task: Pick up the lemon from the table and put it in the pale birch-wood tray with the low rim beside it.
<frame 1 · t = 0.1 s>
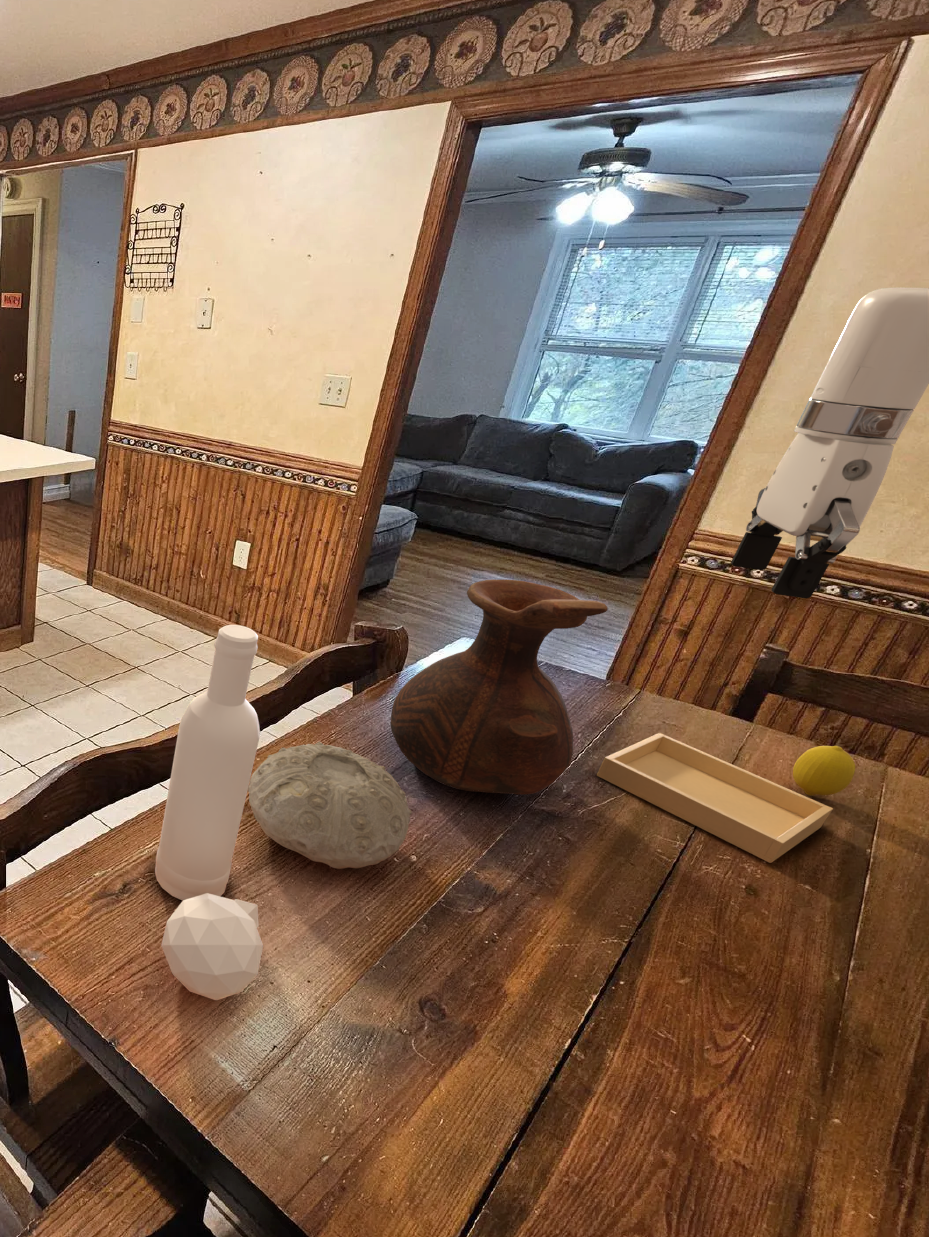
hand: (767, 580, 83), 33 cm above the table, tool pointing down, fingers open, 9 cm apart
tray: (704, 800, 101), on the table
cream faceted rounded solid: (216, 974, 71), on the table
bottle: (189, 879, 82), on the table
jug: (460, 771, 104), on the table
decorative shell: (317, 836, 90), on the table
lemon: (807, 795, 104), on the table
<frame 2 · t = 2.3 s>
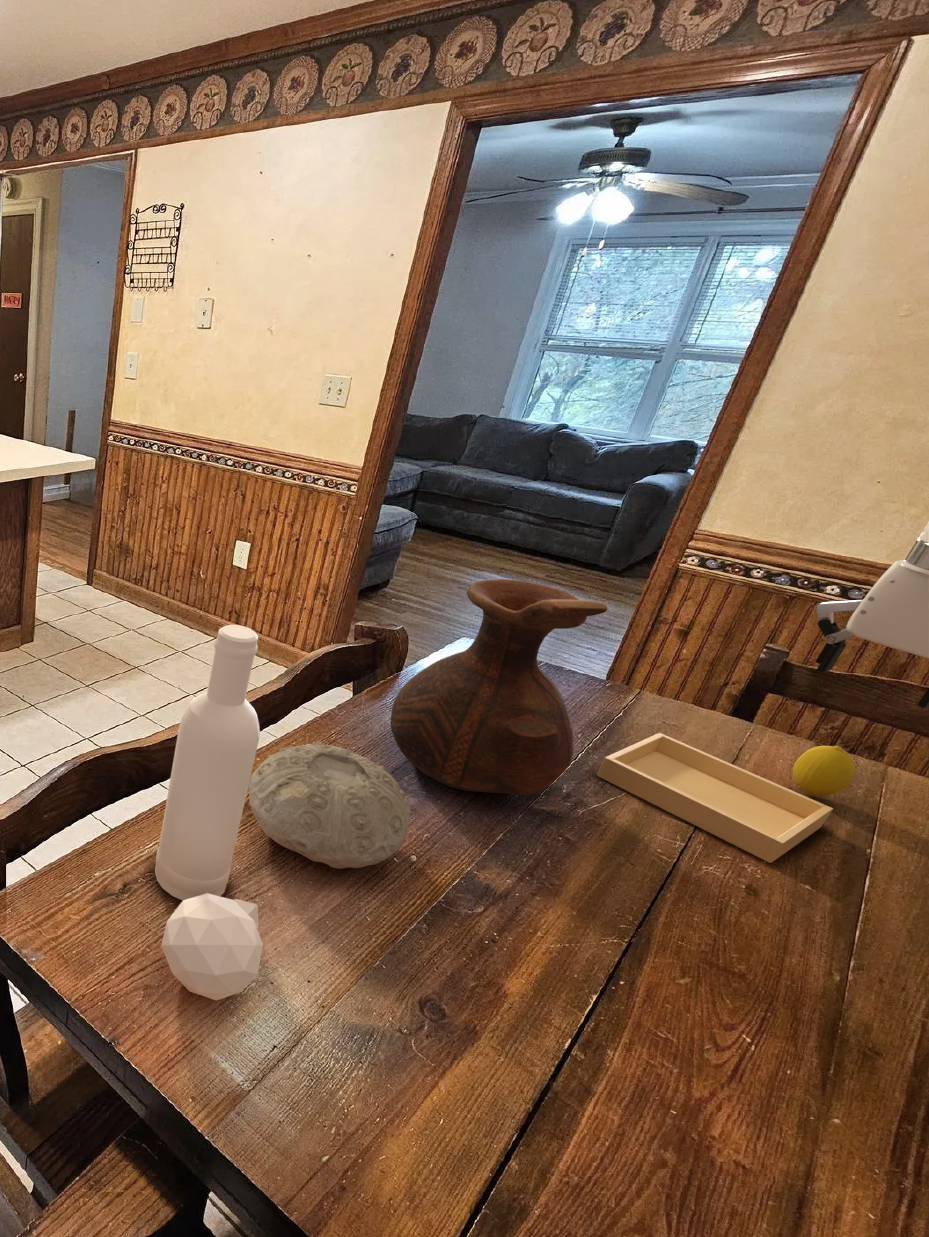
hand: (871, 687, 96), 17 cm above the table, tool pointing down, fingers open, 9 cm apart
nothing on the table moved.
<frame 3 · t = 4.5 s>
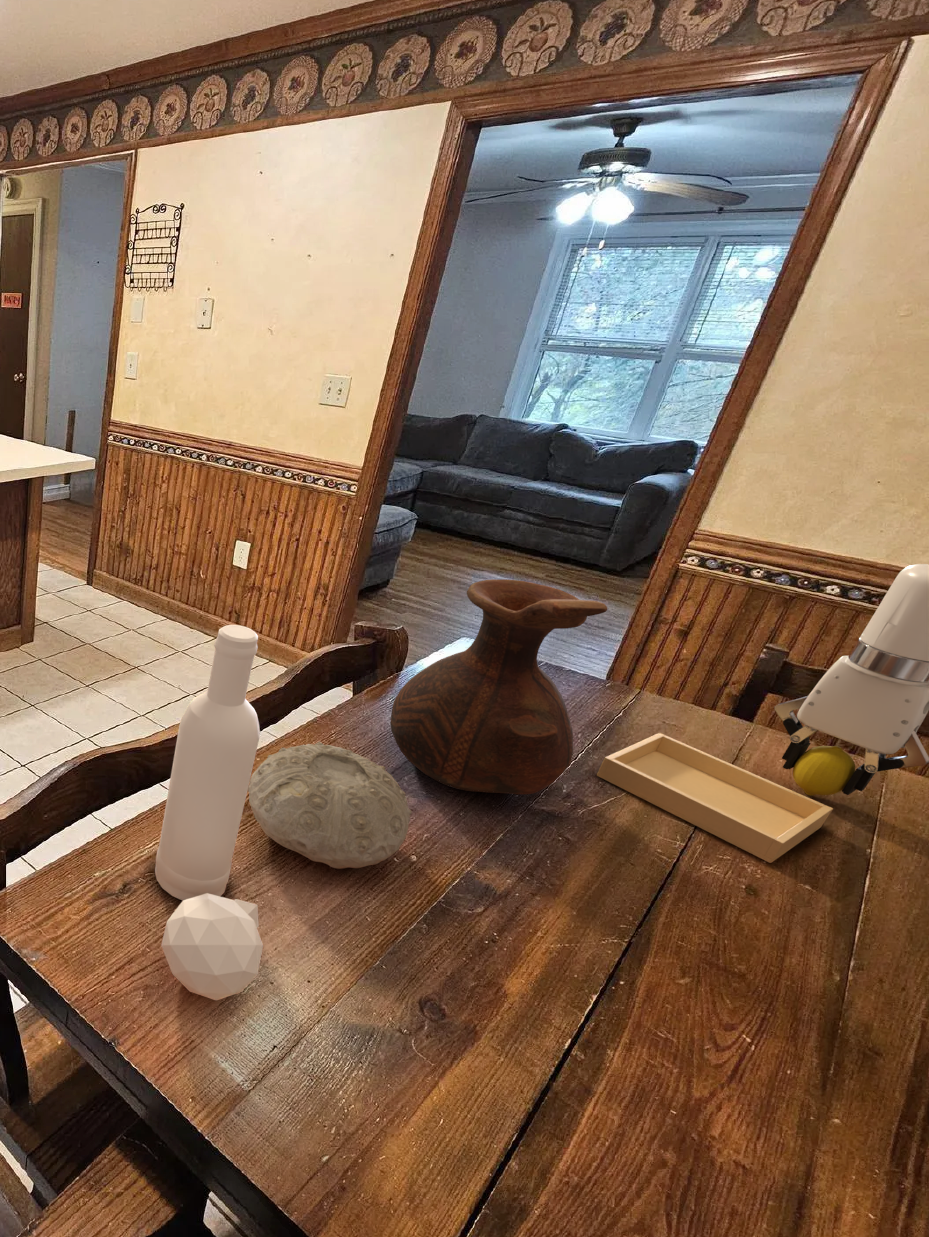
hand: (818, 777, 102), 3 cm above the table, tool pointing down, fingers closed on lemon, 5 cm apart
lemon: (807, 795, 104), on the table, touching gripper
everything else where it was.
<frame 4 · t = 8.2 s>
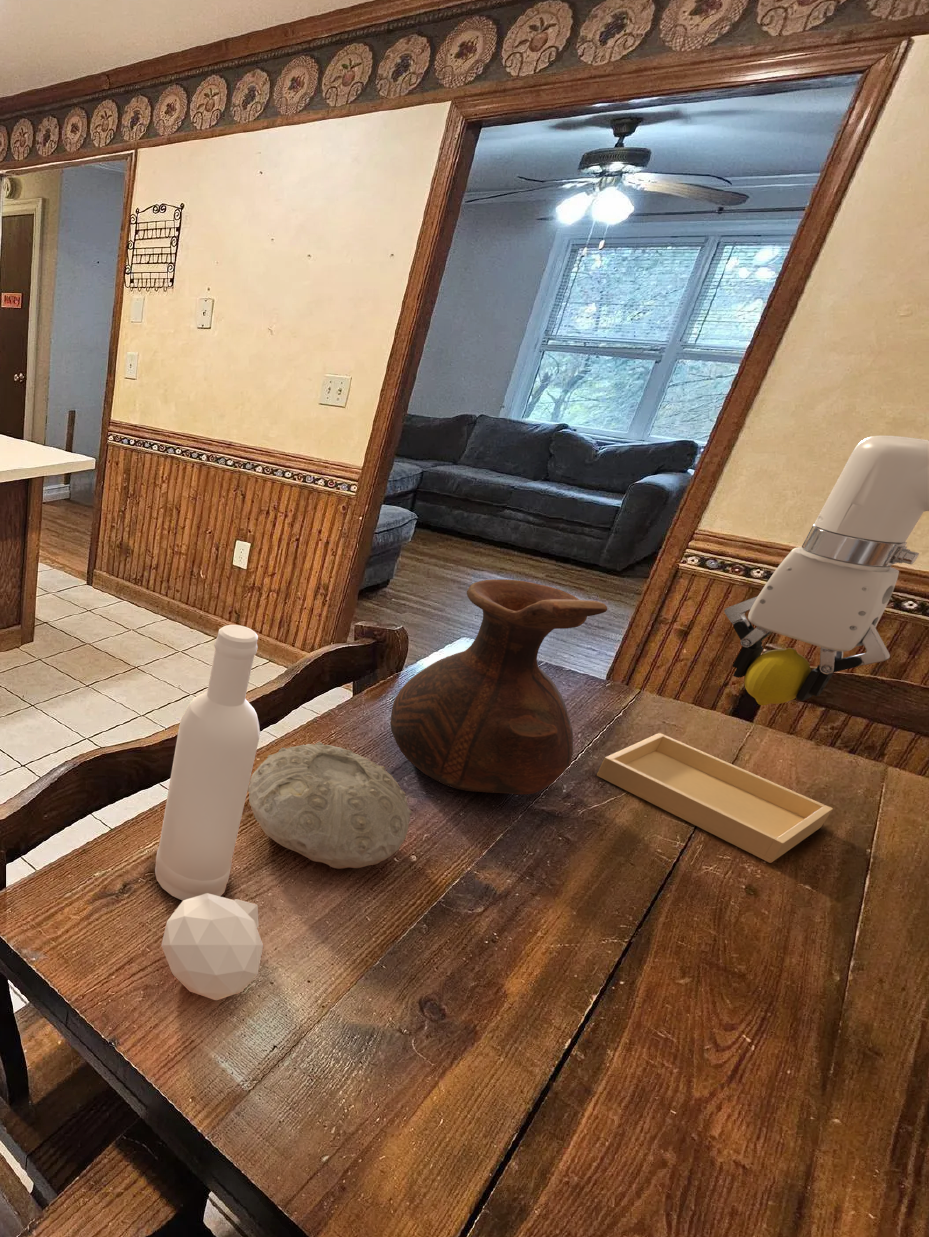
hand: (771, 684, 93), 18 cm above the table, tool pointing down, fingers closed on lemon, 5 cm apart
lemon: (760, 706, 95), point 15 cm above the table, touching gripper
everything else where it was.
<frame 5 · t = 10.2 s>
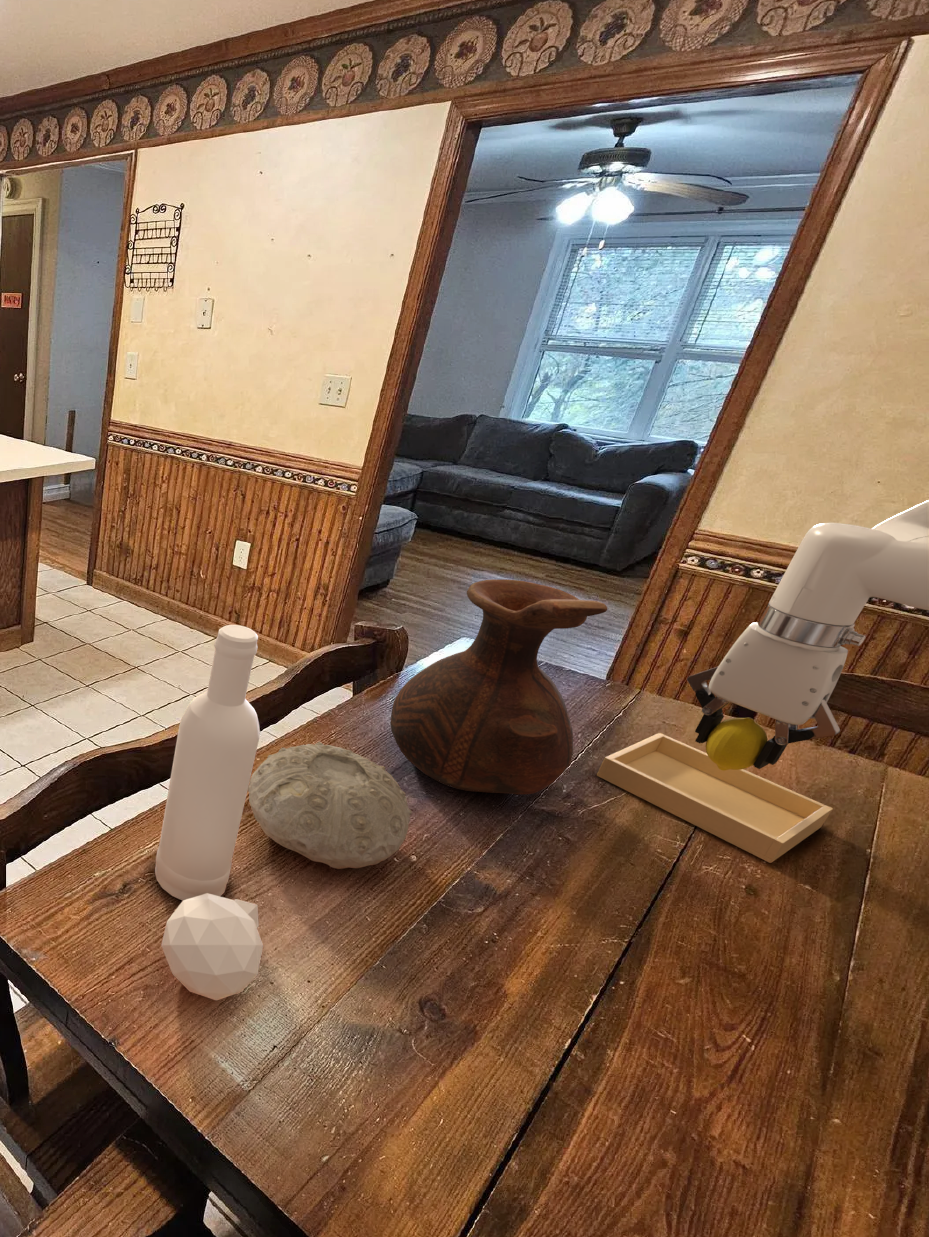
hand: (731, 751, 98), 8 cm above the table, tool pointing down, fingers closed on lemon, 5 cm apart
lemon: (720, 770, 99), point 5 cm above the table, touching gripper
everything else where it was.
when the fingers open (4 cm above the table, at t = 11.9 s): lemon stays where it is, resting on tray.
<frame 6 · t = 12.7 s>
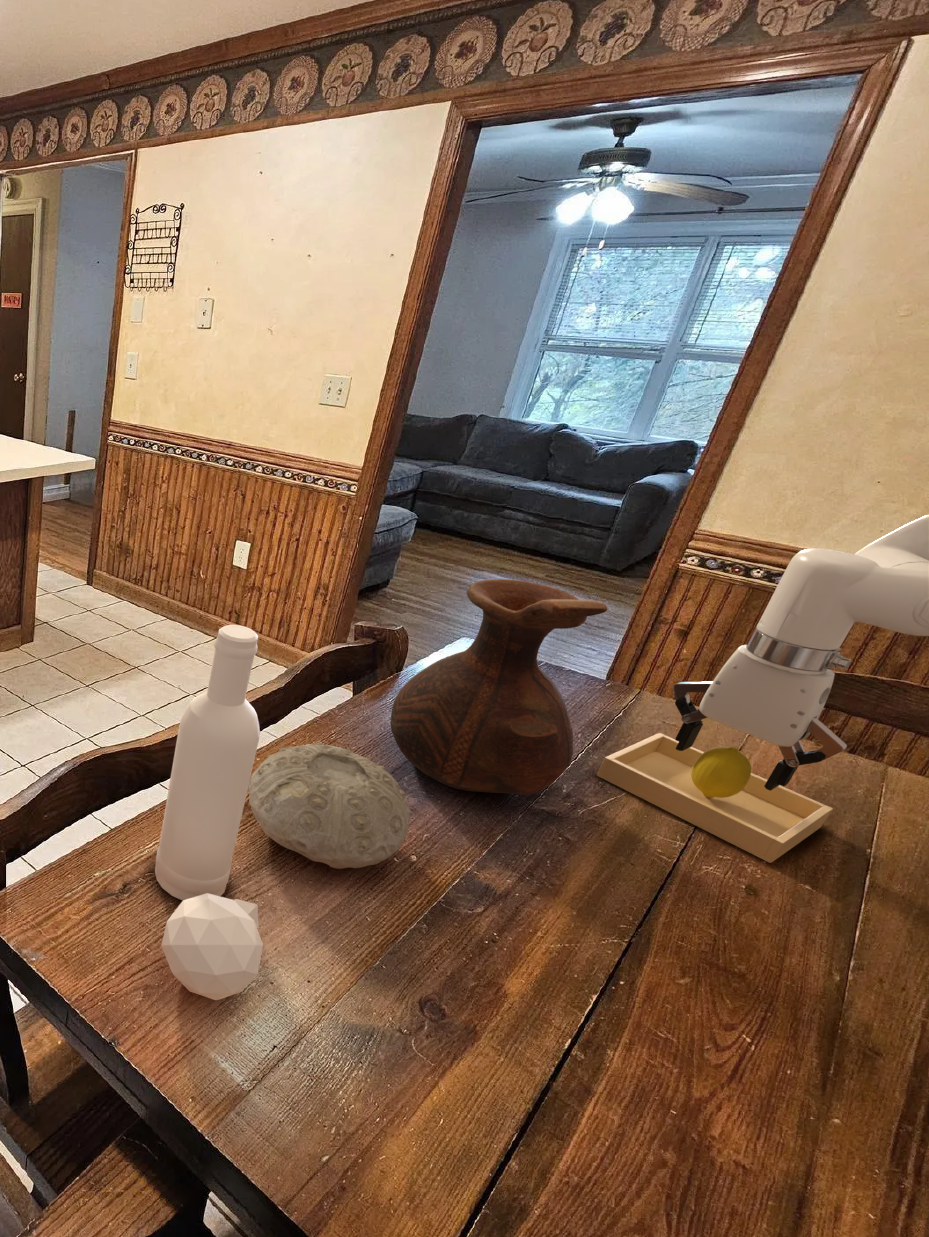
hand: (725, 766, 99), 6 cm above the table, tool pointing down, fingers open, 9 cm apart
lemon: (706, 798, 101), resting on tray
everything else where it was.
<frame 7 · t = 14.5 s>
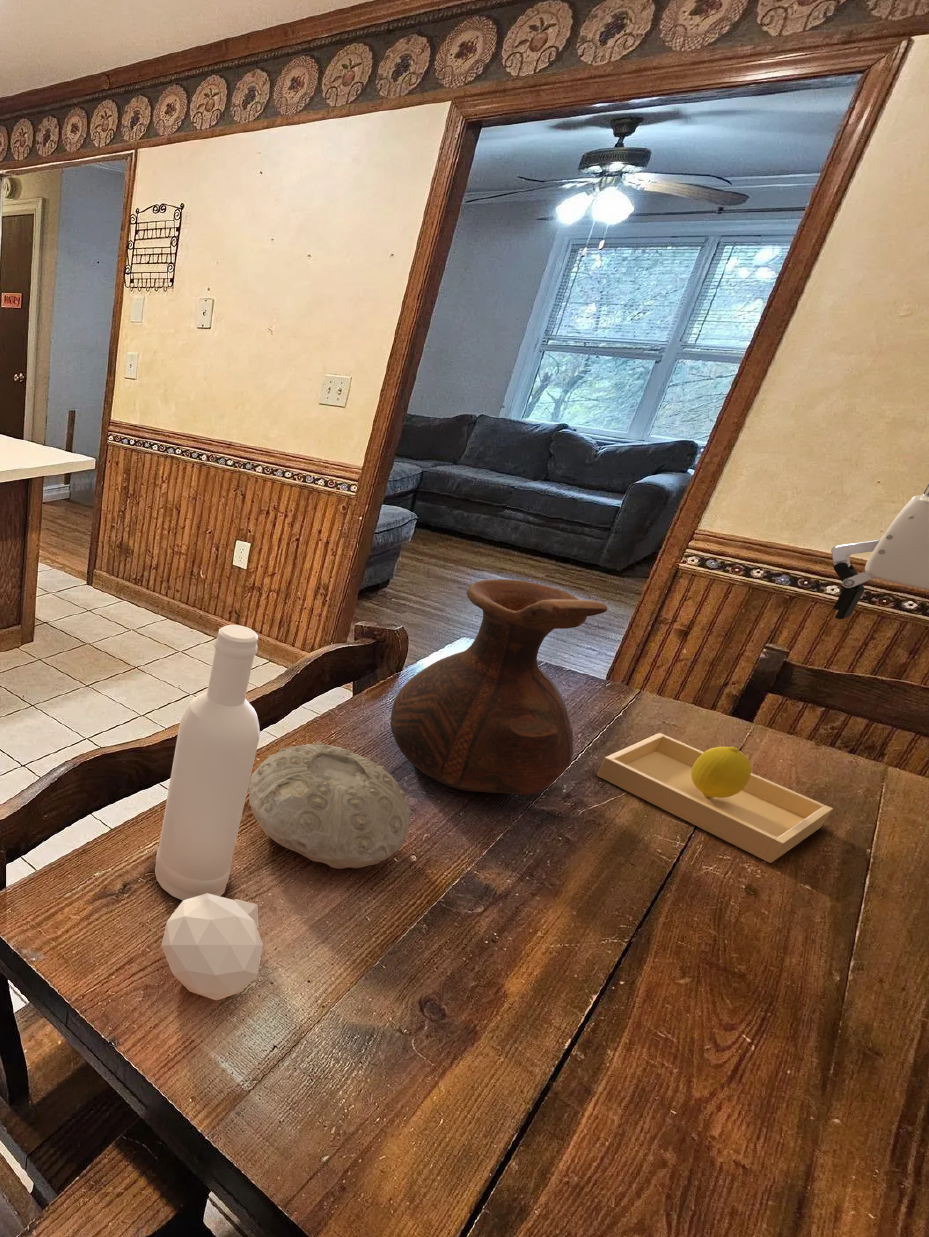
hand: (895, 631, 91), 25 cm above the table, tool pointing down, fingers open, 9 cm apart
nothing on the table moved.
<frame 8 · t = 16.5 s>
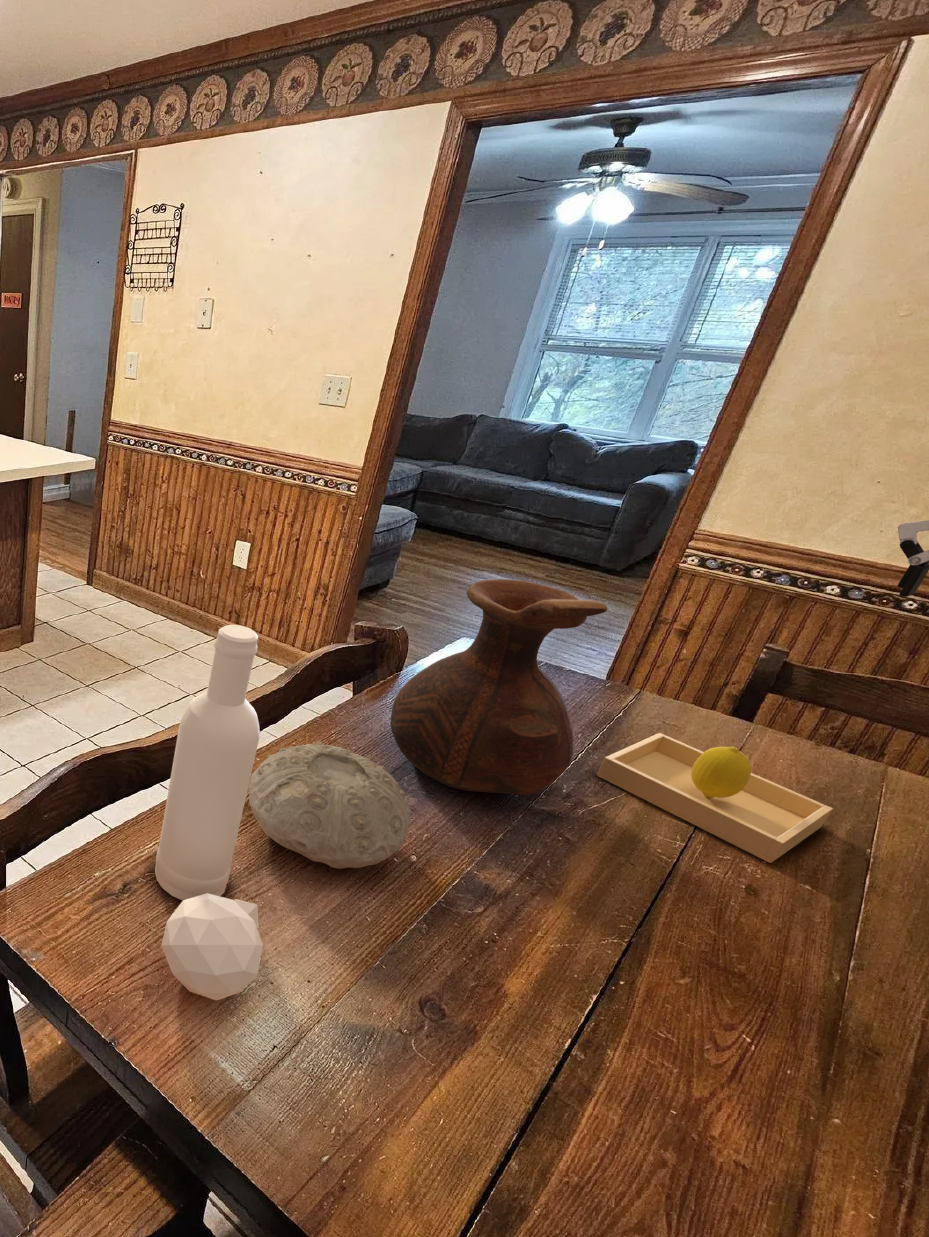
nothing on the table moved.
at the end: lemon inside the target area in the tray (0.1 cm from its centre), point 0.4 cm above the tray's base; the gripper is holding nothing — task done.
